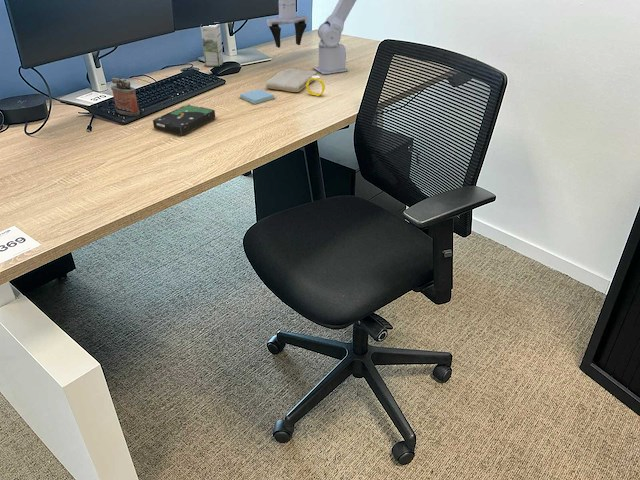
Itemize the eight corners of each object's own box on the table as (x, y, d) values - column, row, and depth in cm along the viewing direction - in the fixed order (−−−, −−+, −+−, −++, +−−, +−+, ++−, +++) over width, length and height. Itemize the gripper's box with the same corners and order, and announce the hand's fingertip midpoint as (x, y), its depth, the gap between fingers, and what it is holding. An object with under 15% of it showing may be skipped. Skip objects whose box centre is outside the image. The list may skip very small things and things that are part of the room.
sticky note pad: (259, 92, 173) (259, 88, 173) (274, 98, 169) (273, 94, 168) (240, 97, 169) (240, 94, 168) (254, 104, 164) (254, 100, 164)
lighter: (142, 112, 158) (136, 79, 152) (134, 116, 155) (128, 82, 149) (121, 108, 160) (114, 75, 155) (113, 112, 158) (106, 78, 152)
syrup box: (223, 62, 201) (220, 22, 193) (219, 67, 196) (215, 25, 188) (209, 62, 201) (204, 21, 193) (204, 66, 196) (199, 25, 188)
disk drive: (182, 137, 144) (216, 118, 154) (181, 127, 142) (215, 109, 153) (153, 129, 148) (188, 112, 158) (151, 120, 146) (187, 102, 157)
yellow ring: (305, 95, 171) (304, 76, 168) (308, 92, 173) (308, 74, 170) (322, 97, 169) (322, 79, 166) (325, 95, 172) (325, 76, 168)
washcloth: (318, 78, 186) (318, 69, 184) (299, 94, 172) (299, 84, 170) (287, 74, 189) (286, 65, 188) (265, 89, 175) (265, 80, 174)
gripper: (271, 7, 172) (273, 50, 180) (311, 4, 178) (311, 46, 185) (263, 4, 177) (265, 45, 185) (302, 0, 183) (303, 41, 191)
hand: (288, 45), depth 186 cm, fingers open, 7 cm apart
